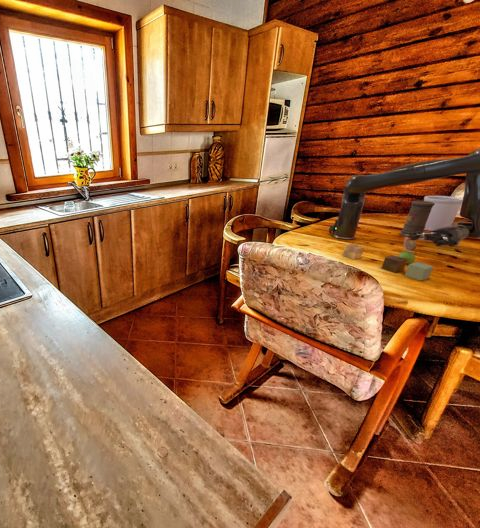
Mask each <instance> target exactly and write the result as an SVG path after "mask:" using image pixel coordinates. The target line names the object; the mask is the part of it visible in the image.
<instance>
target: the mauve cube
mask: <svg viewBox="0 0 480 528" xmlns="http://www.w3.org/2000/svg"><path fill="white" fill-rule="evenodd" d="M364 249H365V247H364V246H362V245H358V244H354V243H351V244H347V245H344V249H343V252H342V257H345V258H347V259H351V260H356V259H360V258H362V256H363V253H364Z"/></svg>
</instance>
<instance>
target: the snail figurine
mask: <svg viewBox="0 0 480 528" xmlns="http://www.w3.org/2000/svg"><path fill="white" fill-rule="evenodd" d="M407 235H409V234H406V236H407ZM406 236H404V240H403V249H404V251H401V252H399V253H398V254H397V256H398V257H401V258H405V259H408V260H407V262H406V265H409V264H412V263H414V262H415V260H416V258H417V257H416V255H415V252H416V251H415V250H416V249H417V247H418V243H417V242H416V240H414V241H413V240H411V239H410V237H406Z"/></svg>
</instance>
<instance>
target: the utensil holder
mask: <svg viewBox="0 0 480 528" xmlns="http://www.w3.org/2000/svg"><path fill="white" fill-rule="evenodd" d="M423 201H429V202H433V203H435V205H434V206H433V207H432V209H431V212H430V214H429V217H428V220H427V222H426V225H425V228H424V231H429V232H432V231H434V230H436V229H439V228H443V227H448V226H452V225H453V224H454V221H455V219H456V217H457V214H458V212H459V211H460V209H461V205H462V201H463V197H455V196H448V195H426V196H424V198H423Z"/></svg>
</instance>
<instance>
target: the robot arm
mask: <svg viewBox="0 0 480 528" xmlns="http://www.w3.org/2000/svg"><path fill="white" fill-rule="evenodd" d="M464 174H465V184H464V192H463V196H462V199H463V201H462V204H461V206H460V208H459V217H461V218H463V219H467V220H470V221H471V222H468V221H456V222H453V223H452V225H451V226H448V227H443V228H439V229H436V230H434V231H430V232H424V233H423V231H417V232H412V235H411V237H409V239H410V241H411V240H413V241H418V240H420V241H421V242H430V243H431V242H432V244H434V245H435V246H436V247H442V246H443V247H444V246H445V247H446V246H449V247H451V248H452V247H456V246H458V245H460V243H461V240H464V239H466V238H467V239H476V240H477V239H480V147H479V148H476V149H474V150H473V151H471V152H470V153H469V154H468V155H463V156H459V157H452V158H441V159H431V160H423V161H418V162H414V163H413V162H412V163H408V164H405V165H402V166H399V167H396V168H393V169H390V170H387V171H384V172H379V173H372V174H363V173H356V174H352V175H351V176H350V177H349V178H347V180H346V181H345V185H344V190H343V194H342V198H341V205H340V208H339V213H338V216H337V218H336V219H335V221H334V224H331V225H329V229H328V233H329V235H331V236H332V237H334V238H336V239H340V240H354V239H355V237H356V234H357V231H358V230H357V229H358V227H359V224H360V219H361V216H362V213H363V208H364V207H365V206H364V205H365V197H366V194H367V193H368V192H372V191H377V190H381V189H384V188H391V187H399V186H400V187H401V186H406V185H413V184H418V183H424V182H429V181H433V180H439V179H443V178H447V177H452V176H457V175H464ZM419 237H420V238H419Z"/></svg>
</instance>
